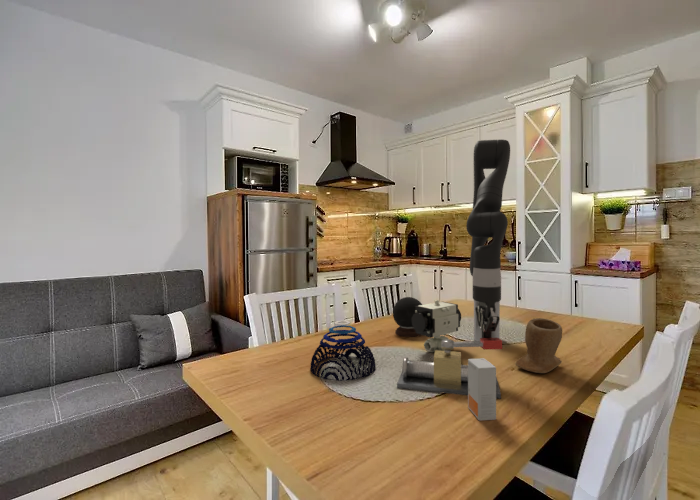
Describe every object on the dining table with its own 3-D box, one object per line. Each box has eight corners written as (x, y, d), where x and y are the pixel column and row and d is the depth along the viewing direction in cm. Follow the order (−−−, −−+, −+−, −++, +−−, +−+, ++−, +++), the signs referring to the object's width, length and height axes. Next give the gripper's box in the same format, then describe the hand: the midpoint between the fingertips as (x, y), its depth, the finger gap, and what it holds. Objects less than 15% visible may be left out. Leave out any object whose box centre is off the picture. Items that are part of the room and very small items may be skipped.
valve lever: (497, 345, 102) (497, 337, 102) (502, 349, 98) (502, 340, 98) (440, 347, 101) (440, 338, 101) (443, 350, 98) (443, 342, 98)
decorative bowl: (382, 360, 120) (381, 317, 119) (365, 384, 101) (364, 333, 100) (326, 354, 126) (325, 313, 126) (300, 376, 108) (299, 328, 107)
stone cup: (551, 380, 101) (551, 327, 101) (509, 368, 111) (510, 319, 110) (573, 367, 111) (574, 318, 110) (533, 357, 120) (533, 312, 119)
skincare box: (467, 408, 86) (467, 358, 86) (484, 407, 87) (484, 357, 86) (478, 421, 80) (478, 368, 80) (497, 420, 81) (497, 367, 80)
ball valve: (429, 359, 120) (428, 305, 119) (411, 352, 127) (410, 301, 126) (465, 349, 130) (465, 299, 129) (446, 343, 137) (446, 296, 136)
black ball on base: (429, 331, 153) (429, 296, 152) (417, 339, 142) (417, 301, 141) (400, 327, 160) (400, 293, 159) (387, 334, 149) (387, 298, 148)
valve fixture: (403, 371, 110) (403, 339, 109) (496, 380, 102) (496, 346, 102) (397, 387, 98) (396, 352, 98) (500, 399, 91) (501, 360, 90)
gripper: (510, 287, 96) (509, 352, 97) (491, 279, 109) (491, 336, 110) (481, 288, 96) (481, 352, 97) (466, 280, 109) (466, 337, 110)
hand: (486, 344), depth 103 cm, fingers closed
